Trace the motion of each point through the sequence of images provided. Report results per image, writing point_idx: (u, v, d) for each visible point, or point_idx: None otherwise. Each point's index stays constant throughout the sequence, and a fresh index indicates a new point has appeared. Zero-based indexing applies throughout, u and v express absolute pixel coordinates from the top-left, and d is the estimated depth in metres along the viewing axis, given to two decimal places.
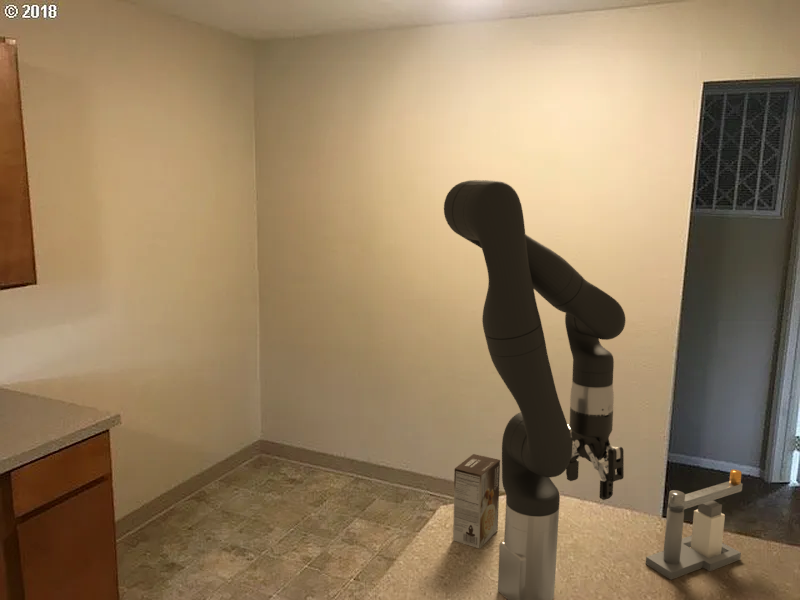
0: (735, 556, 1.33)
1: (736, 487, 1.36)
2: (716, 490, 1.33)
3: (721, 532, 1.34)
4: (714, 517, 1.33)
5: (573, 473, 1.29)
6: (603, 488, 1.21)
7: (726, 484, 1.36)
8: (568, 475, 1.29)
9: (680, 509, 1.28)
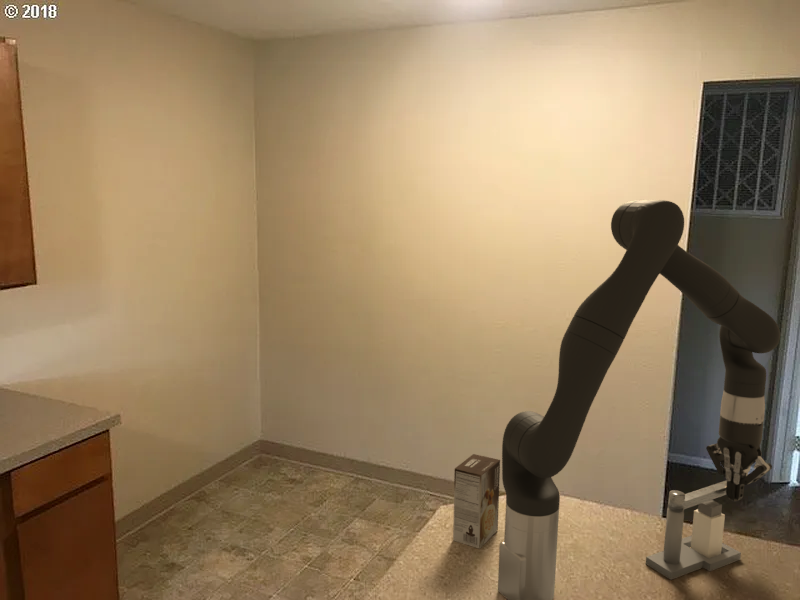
0: (735, 556, 1.33)
1: None
2: (715, 489, 1.34)
3: (721, 532, 1.34)
4: (714, 517, 1.33)
5: None
6: (735, 490, 1.32)
7: (724, 483, 1.36)
8: (729, 494, 1.33)
9: (680, 509, 1.28)
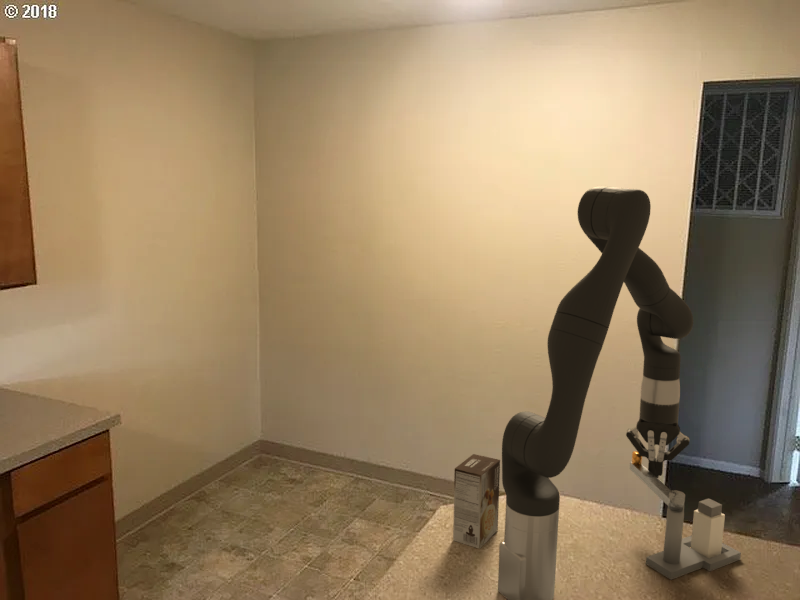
0: (735, 556, 1.33)
1: None
2: (653, 476, 1.40)
3: (721, 532, 1.34)
4: (714, 517, 1.33)
5: None
6: (659, 468, 1.42)
7: (640, 468, 1.43)
8: (653, 473, 1.42)
9: None
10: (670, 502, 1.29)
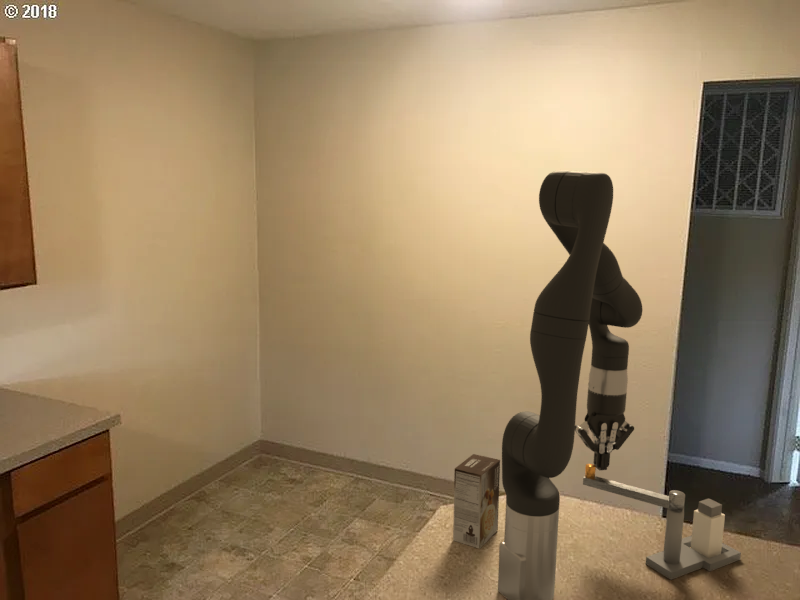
0: (735, 556, 1.33)
1: None
2: (621, 484, 1.36)
3: (721, 532, 1.34)
4: (714, 517, 1.33)
5: None
6: None
7: (600, 480, 1.37)
8: (602, 465, 1.39)
9: None
10: (676, 504, 1.28)
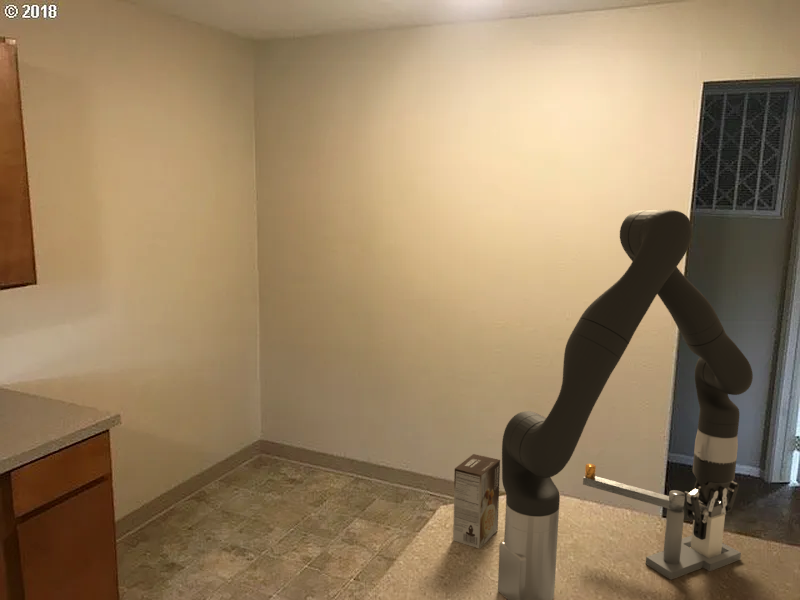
0: (735, 556, 1.33)
1: None
2: (621, 484, 1.36)
3: (721, 532, 1.34)
4: (714, 517, 1.33)
5: None
6: None
7: (600, 480, 1.37)
8: None
9: None
10: (676, 504, 1.28)
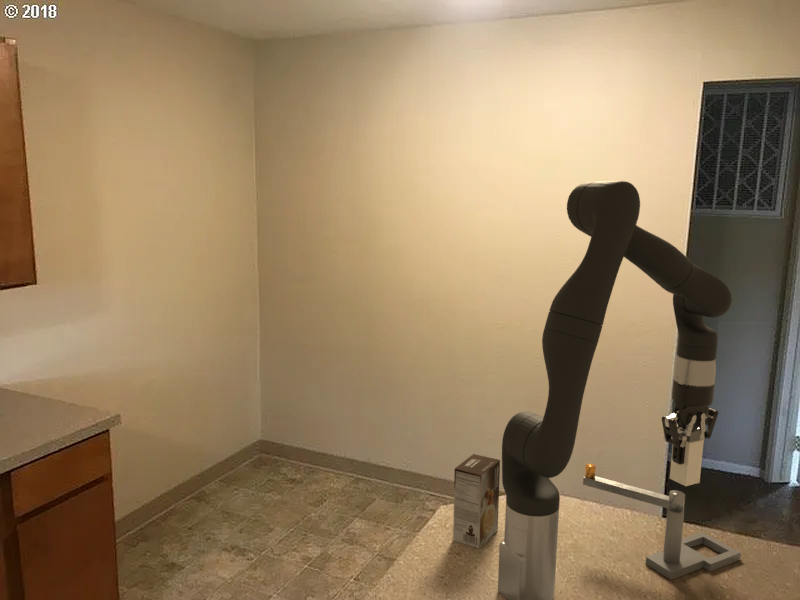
0: (735, 556, 1.33)
1: None
2: (621, 484, 1.36)
3: (700, 458, 1.36)
4: (692, 442, 1.34)
5: None
6: None
7: (600, 480, 1.37)
8: None
9: None
10: (676, 504, 1.28)
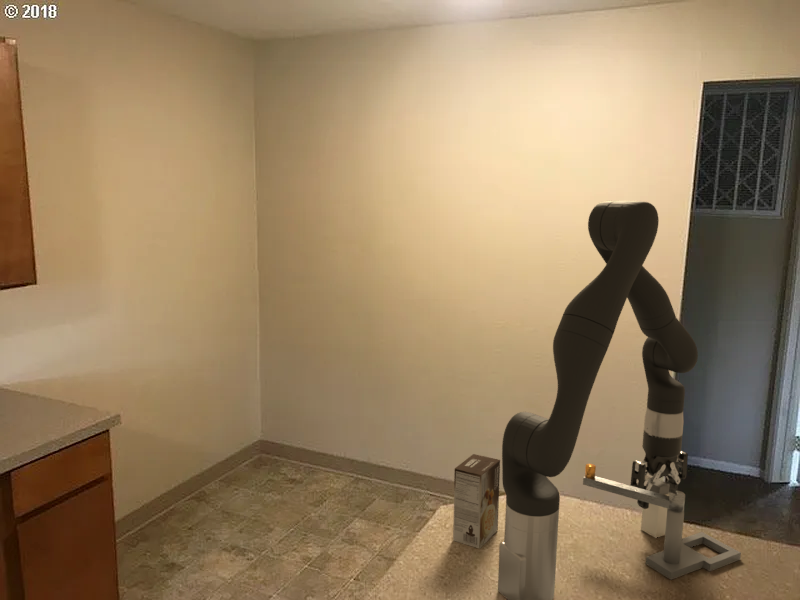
0: (735, 556, 1.33)
1: None
2: (621, 484, 1.36)
3: None
4: None
5: None
6: None
7: (600, 480, 1.37)
8: None
9: None
10: (676, 504, 1.28)
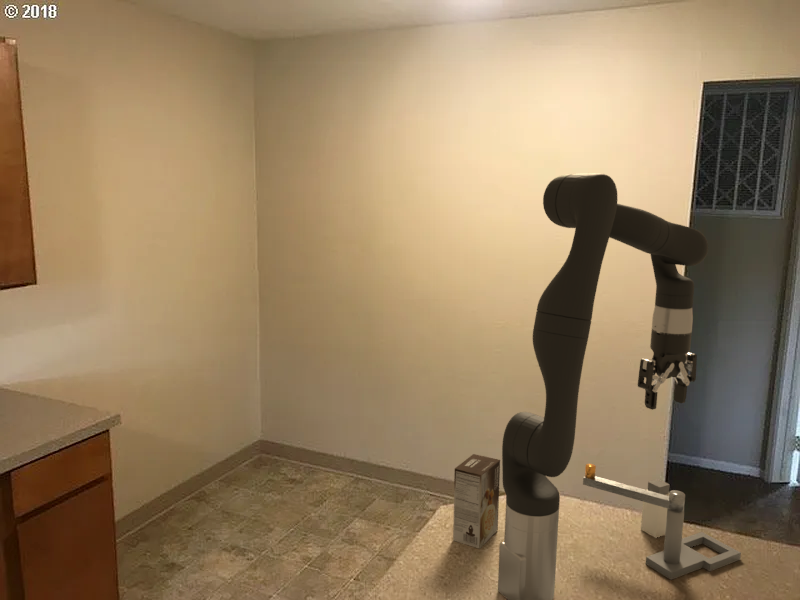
0: (735, 556, 1.33)
1: None
2: (621, 484, 1.36)
3: None
4: None
5: (678, 395, 1.41)
6: None
7: (600, 480, 1.37)
8: None
9: None
10: (676, 504, 1.28)
